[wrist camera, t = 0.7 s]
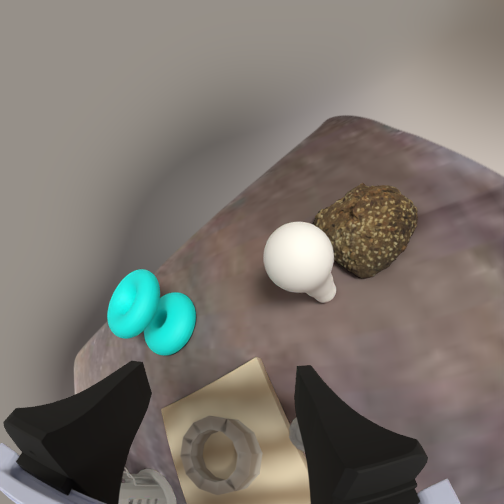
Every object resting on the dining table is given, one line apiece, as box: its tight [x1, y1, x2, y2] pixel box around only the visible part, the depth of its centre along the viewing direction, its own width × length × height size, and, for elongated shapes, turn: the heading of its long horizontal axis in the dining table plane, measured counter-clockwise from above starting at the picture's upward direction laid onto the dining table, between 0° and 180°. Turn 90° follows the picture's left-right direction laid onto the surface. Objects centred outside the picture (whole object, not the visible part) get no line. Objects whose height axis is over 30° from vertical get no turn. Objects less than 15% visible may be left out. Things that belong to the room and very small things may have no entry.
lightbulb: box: [264, 222, 336, 303], centre depth 25 cm, size 6×6×11 cm
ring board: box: [161, 357, 311, 504], centre depth 22 cm, size 18×16×3 cm
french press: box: [118, 467, 176, 504], centre depth 15 cm, size 10×12×25 cm
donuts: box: [107, 269, 196, 355], centre depth 36 cm, size 10×10×10 cm
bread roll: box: [314, 183, 418, 278], centre depth 29 cm, size 13×12×5 cm
